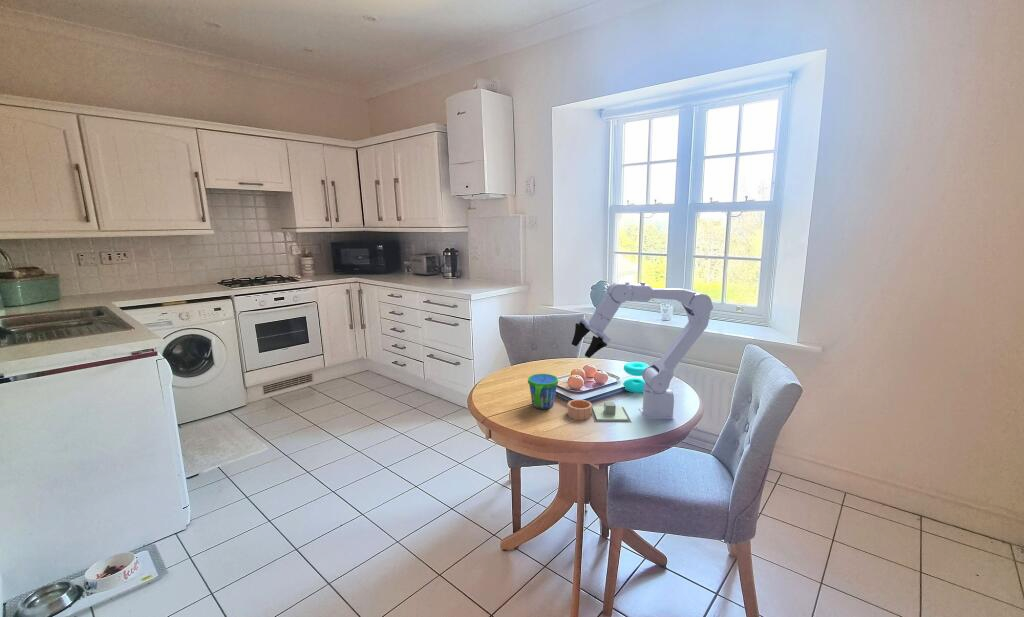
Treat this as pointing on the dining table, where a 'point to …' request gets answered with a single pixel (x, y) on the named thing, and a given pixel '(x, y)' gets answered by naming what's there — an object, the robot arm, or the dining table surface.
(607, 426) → the dining table surface
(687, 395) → the dining table surface
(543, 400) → the snack cup
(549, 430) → the dining table surface
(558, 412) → the dining table surface
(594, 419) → the mat
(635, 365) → the donuts
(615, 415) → the lid
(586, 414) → the bowl
